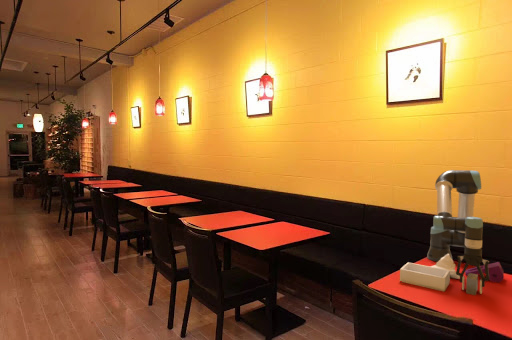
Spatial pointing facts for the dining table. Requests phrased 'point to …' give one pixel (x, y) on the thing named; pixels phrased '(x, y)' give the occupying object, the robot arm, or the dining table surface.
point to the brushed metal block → (472, 284)
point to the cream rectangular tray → (425, 276)
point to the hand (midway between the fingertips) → (471, 290)
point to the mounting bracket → (490, 271)
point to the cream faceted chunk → (447, 266)
